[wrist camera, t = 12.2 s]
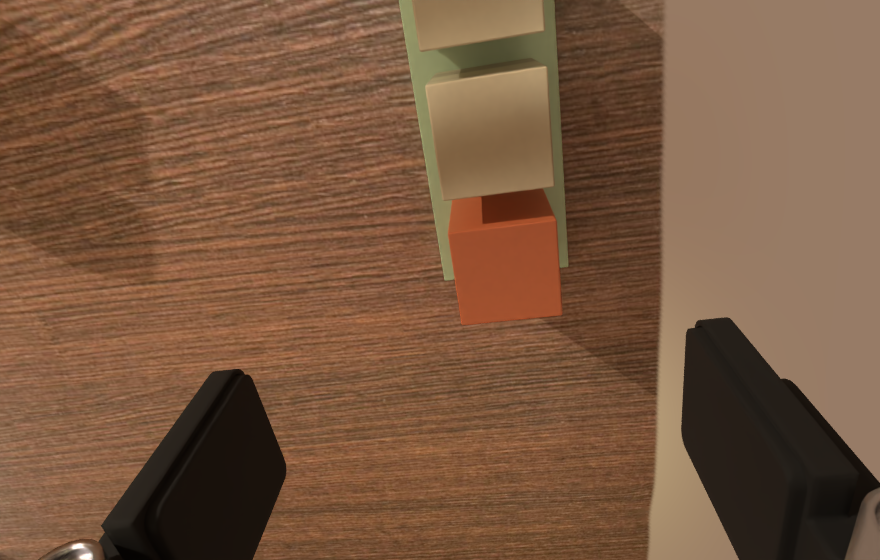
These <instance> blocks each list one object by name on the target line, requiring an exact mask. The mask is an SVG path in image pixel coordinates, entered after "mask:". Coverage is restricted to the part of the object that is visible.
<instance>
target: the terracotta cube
mask: <svg viewBox="0 0 880 560" xmlns="http://www.w3.org/2000/svg"><path fill="white" fill-rule="evenodd" d="M448 239H449V246H450V252H451V259H452V265H453V271H454V278H455V284H456V291H457V297H458V304H459V310H460V317H461V323H462V325H471V324H481V323H491V322H501V321H510V320H520V319H530V318H540V317H550V316H560V315H562V314H563V313H562V297H561V280H560V264H559V248H558V231H557V220H556V218H555V215H554V213H553V211H552V208H551V206H550V203H549V201H548V199H547V196H546V194H545V192H544V189H543V188H541V189H534V190H526V191H518V192H511V193H503V194H495V195H487V196H480V197H472V198H464V199H457V200H452V205H451V213H450V221H449V228H448Z"/></svg>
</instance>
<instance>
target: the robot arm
mask: <svg viewBox="0 0 880 560" xmlns="http://www.w3.org/2000/svg"><path fill="white" fill-rule="evenodd" d="M681 431H682V439H683V442H684V446H685V448H686V450H687V452H688V455H689V456H690V459H691V461H692V463H693V465H694V467H695V469H696V471H697V473H698V475H699V477H700V479H701V481H702V484H703V486H704V488H705V490H706V492H707V494H708V496H709V498H710V500H711V502H712V504H713V506H714V508H715V511H716V513H717V514H718V517H719V519H720V521H721V523H722V525H723V527H724V529H725V531H726V533H727V535H728V537H729V540H730V542H731V544H732V546H733V548H734V550H735V552H736V554H737V556H738V558H739V560H880V483H879V482H878V480H877V479H876V478H875V477H874V476H873V475H872V473H871V472H870V471H869V470H868V469H867V468H866V466H865V465H864V464H863V463H862V462H861V461H860V459H859V458H858V457H857V456H856V455H855V454H854V452H853V451H852V450H851V449H850V448H849V447H848V445H847V444H846V443H845V442H844V441H843V439H842V438H841V437H840V436H839V435H838V434H837V432H836V431H835V430H834V429H833V428H832V427H831V426H830V424H829V423H828V422H827V421H826V420H825V419H824V418H823V416H822V415H821V414H820V413H819V411H818V410H817V409H816V408H815V407H814V406H813V404H812V403H811V402H810V401H809V400H808V399H807V397H806V396H805V395H804V394H803V393H802V392H801V391H800V389H799V388H798V387H797V386H796V385H795V384H794V383H793V382H792V381H790V380H788V379H780V377H779V376H778V375H777V374H776V373H775V372H774V370H773V369H772V368H771V367H770V365H769V364H768V363H767V362H766V361H765V360H764V358H763V357H762V356H761V355H760V353H759V352H758V351H757V350H756V349H755V347H754V346H753V345H752V344H751V343H750V341H749V340H748V339H747V338H746V337H745V335H744V334H743V333H742V332H741V331H740V329H739V328H738V327H737V326H736V325H735V323H734V322H733V321H732V320H731V319H730V318H716V319H707V320H698V321H697V322H696V325H695V328H691V329H688V330H687V332H686V346H685V367H684V386H683V407H682V425H681ZM285 476H286V463H285V460H284V457H283V455H282V452H281V450H280V447H279V445H278V442H277V440H276V437H275V435H274V432H273V430H272V427H271V425H270V422H269V420H268V417H267V415H266V412H265V410H264V407H263V405H262V402H261V400H260V397H259V395H258V392H257V390H256V387H255V384H254V382H253V380H252V378H251V376H249V375H245V374H244V372H243V371H242V370H240V369H233V370H223V371H215V372H212V373H211V374H210V375H209V377H208V378H207V379H206V381H205V382H204V384H203V385H202V386H201V388H200V389H199V391H198V392H197V393H196V395H195V396H194V397H193V399H192V400H191V402H190V403H189V404H188V406H187V407H186V409H185V410H184V411H183V413H182V414H181V415H180V417H179V418H178V420H177V421H176V422H175V424H174V425H173V427H172V428H171V429H170V431H169V432H168V433H167V435H166V436H165V438H164V439H163V440H162V442H161V443H160V445H159V446H158V447H157V449H156V450H155V451H154V453H153V454H152V456H151V457H150V458H149V460H148V461H147V463H146V464H145V465H144V467H143V468H142V470H141V471H140V472H139V474H138V475H137V476H136V478H135V479H134V481H133V482H132V483H131V485H130V486H129V488H128V489H127V490H126V492H125V493H124V494H123V496H122V497H121V499H120V500H119V501H118V503H117V504H116V506H115V507H114V508H113V510H112V511H111V512H110V514H109V515H108V517H107V518H106V519H105V521H104V522H103V524H102V525H101V527H102V528H103V530H104V531H105V533H104V534H103V536H102V537H101V539H100V540H99V542H97V541H95V540H93V539H79V540H75V541H71V542H68V543H66V544H64V545H61V546H59V547H57V548H55V549H53V550H52V551H50V552H49V553H47V554H45V555H44V556H42V557H41V558H40V559H38V560H252V559H253V557H254V554H255V552H256V550H257V547H258V545H259V542H260V540H261V537H262V535H263V532H264V530H265V527H266V525H267V522H268V520H269V517H270V515H271V512H272V510H273V507H274V505H275V502H276V500H277V497H278V495H279V492H280V490H281V487H282V485H283V482H284V480H285Z"/></svg>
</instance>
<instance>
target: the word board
mask: <svg viewBox="0 0 880 560" xmlns="http://www.w3.org/2000/svg"><path fill="white" fill-rule="evenodd" d="M399 5H400V11H401V17H402V23H403V29H404V35H405V41H406V48H407V54H408V60H409V66H410V72H411V78H412V84H413V90H414V96H415V103H416V109H417V115H418V121H419V127H420V133H421V139H422V145H423V151H424V158H425V164H426V170H427V176H428V182H429V188H430V194H431V200H432V206H433V213H434V219H435V225H436V231H437V237H438V243H439V249H440V255H441V261H442V267H443V274H444V280H445V281H447V280H455V278H454V271H453V265H452V259H451V252H450V246H449V239H448V228H449V221H450V213H451V205H452V200H457V199H464V198H472V197H480V196H487V195H495V194H503V193H511V192H518V191H526V190H534V189H541V188H543V189H544V192H545V194H546V196H547V199H548V201H549V203H550V206H551V208H552V211H553V213H554V215H555V218H556V220H557V231H558V248H559V264H560V268H563V267H568V266H569V265H568V247H567V228H566V209H565V190H564V171H563V152H562V133H561V114H560V96H559V77H558V58H557V39H556V20H555V1H554V0H399Z"/></svg>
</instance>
